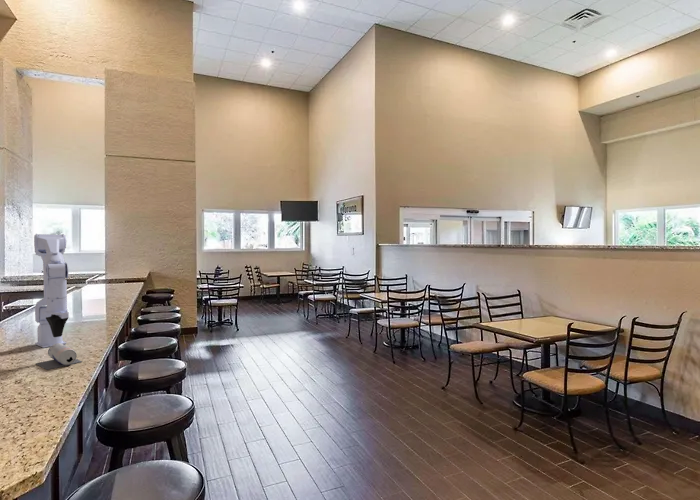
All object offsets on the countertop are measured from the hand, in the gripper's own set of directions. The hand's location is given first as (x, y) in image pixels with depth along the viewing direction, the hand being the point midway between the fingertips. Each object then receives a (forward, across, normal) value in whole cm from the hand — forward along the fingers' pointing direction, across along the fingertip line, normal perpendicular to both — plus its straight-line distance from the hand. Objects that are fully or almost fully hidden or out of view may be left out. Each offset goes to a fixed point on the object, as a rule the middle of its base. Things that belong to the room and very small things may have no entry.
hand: (57, 336), depth 140 cm
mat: (+8, +6, -2) cm, 10 cm away
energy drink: (+5, 0, 0) cm, 5 cm away
